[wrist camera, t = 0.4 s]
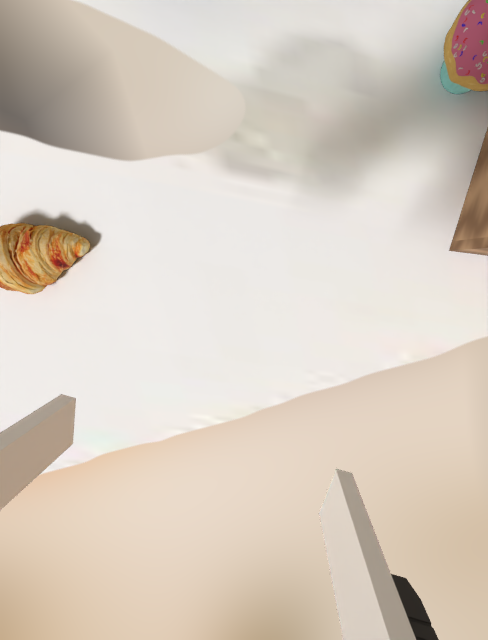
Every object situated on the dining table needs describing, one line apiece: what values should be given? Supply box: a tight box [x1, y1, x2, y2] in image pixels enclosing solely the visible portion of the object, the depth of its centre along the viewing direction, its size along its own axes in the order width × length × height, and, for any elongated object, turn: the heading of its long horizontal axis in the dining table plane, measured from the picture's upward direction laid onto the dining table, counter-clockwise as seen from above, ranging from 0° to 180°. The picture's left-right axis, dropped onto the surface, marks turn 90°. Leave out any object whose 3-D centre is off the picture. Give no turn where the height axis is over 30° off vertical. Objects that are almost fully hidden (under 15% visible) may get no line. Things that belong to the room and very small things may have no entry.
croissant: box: [0, 223, 90, 294], centre depth 37 cm, size 21×10×8 cm, turn 104°
